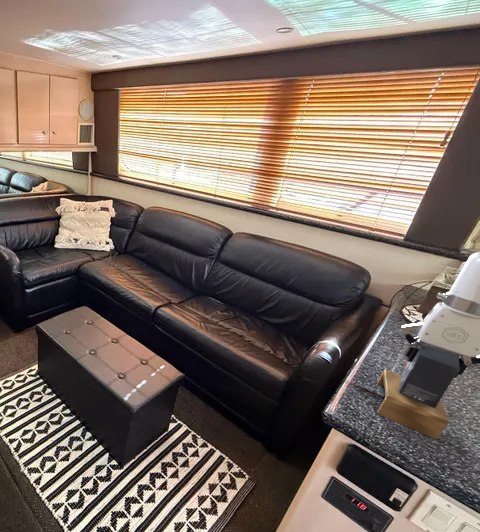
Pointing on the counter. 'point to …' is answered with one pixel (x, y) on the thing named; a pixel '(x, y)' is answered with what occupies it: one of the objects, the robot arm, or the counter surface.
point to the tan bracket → (410, 408)
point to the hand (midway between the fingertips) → (430, 366)
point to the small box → (429, 374)
